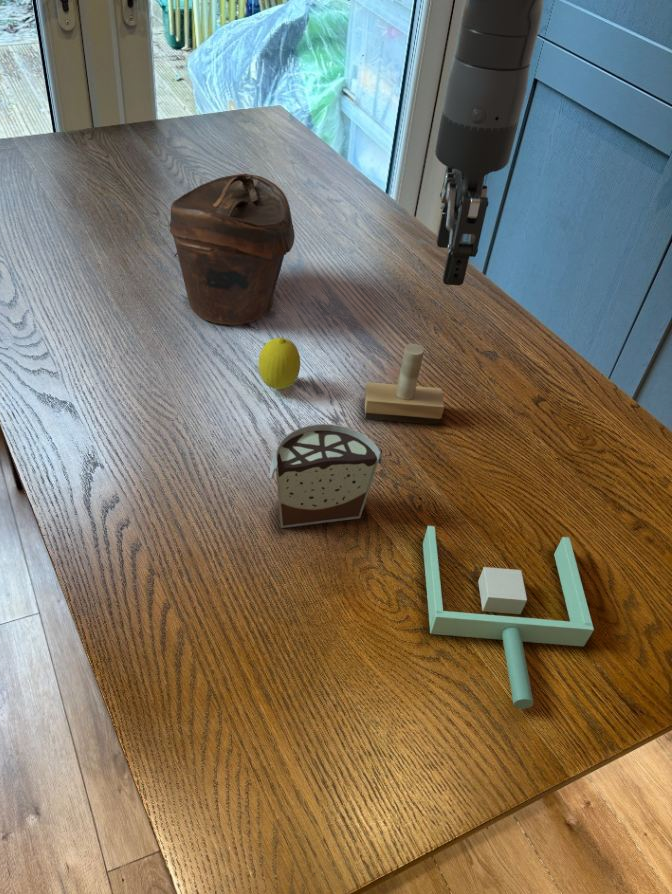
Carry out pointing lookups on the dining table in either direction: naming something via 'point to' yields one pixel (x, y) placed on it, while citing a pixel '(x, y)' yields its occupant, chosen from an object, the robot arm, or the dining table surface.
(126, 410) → the dining table surface
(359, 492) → the cupcake
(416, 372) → the brush
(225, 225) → the case
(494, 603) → the white square block
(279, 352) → the lemon
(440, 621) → the goalpost shaped holder
